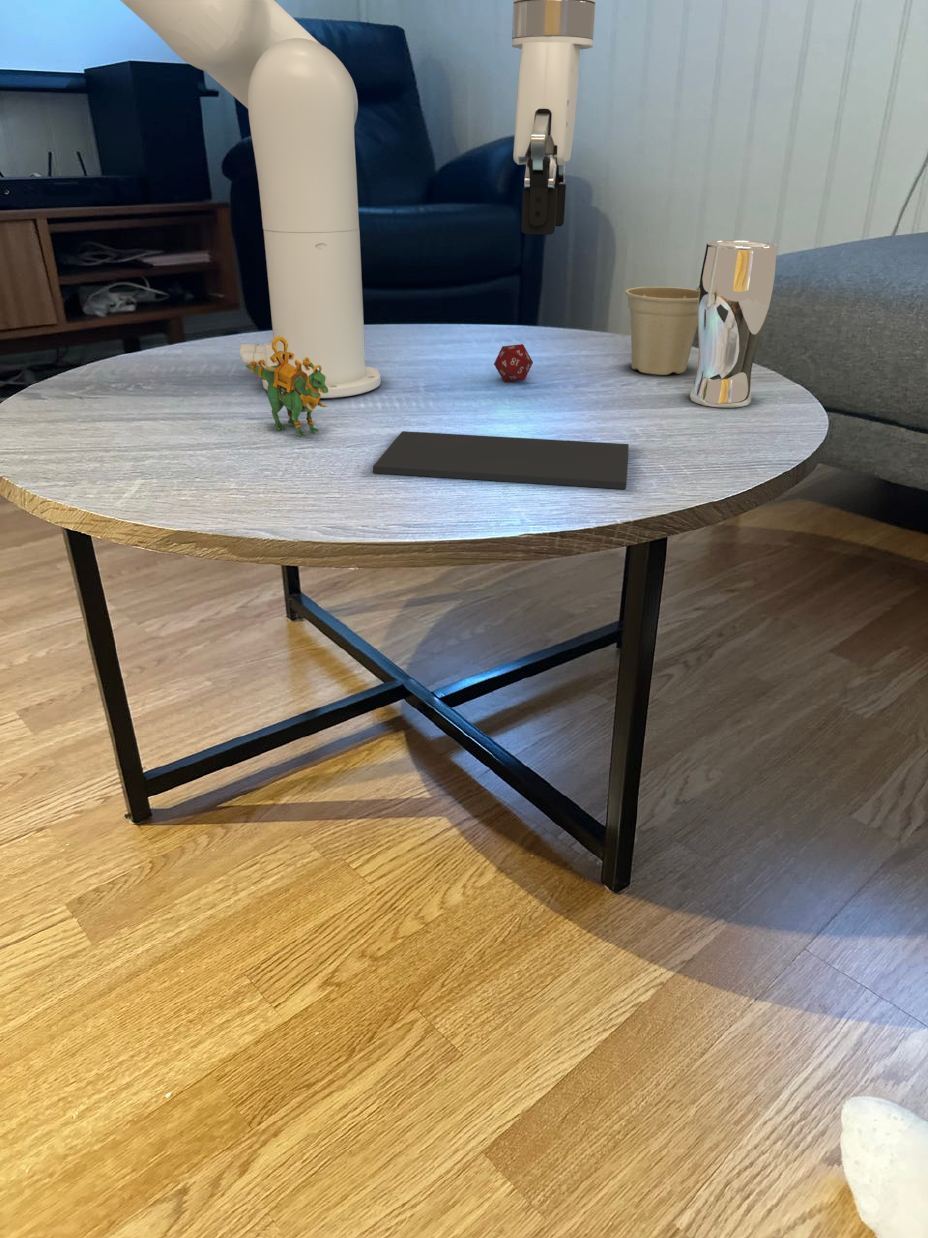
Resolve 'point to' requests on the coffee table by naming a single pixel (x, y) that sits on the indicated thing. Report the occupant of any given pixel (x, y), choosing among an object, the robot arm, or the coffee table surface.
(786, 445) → the coffee table surface
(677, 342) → the flower pot
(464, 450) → the mat
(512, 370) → the dice
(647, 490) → the coffee table surface
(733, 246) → the beer glass
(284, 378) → the figurine
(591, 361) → the coffee table surface
